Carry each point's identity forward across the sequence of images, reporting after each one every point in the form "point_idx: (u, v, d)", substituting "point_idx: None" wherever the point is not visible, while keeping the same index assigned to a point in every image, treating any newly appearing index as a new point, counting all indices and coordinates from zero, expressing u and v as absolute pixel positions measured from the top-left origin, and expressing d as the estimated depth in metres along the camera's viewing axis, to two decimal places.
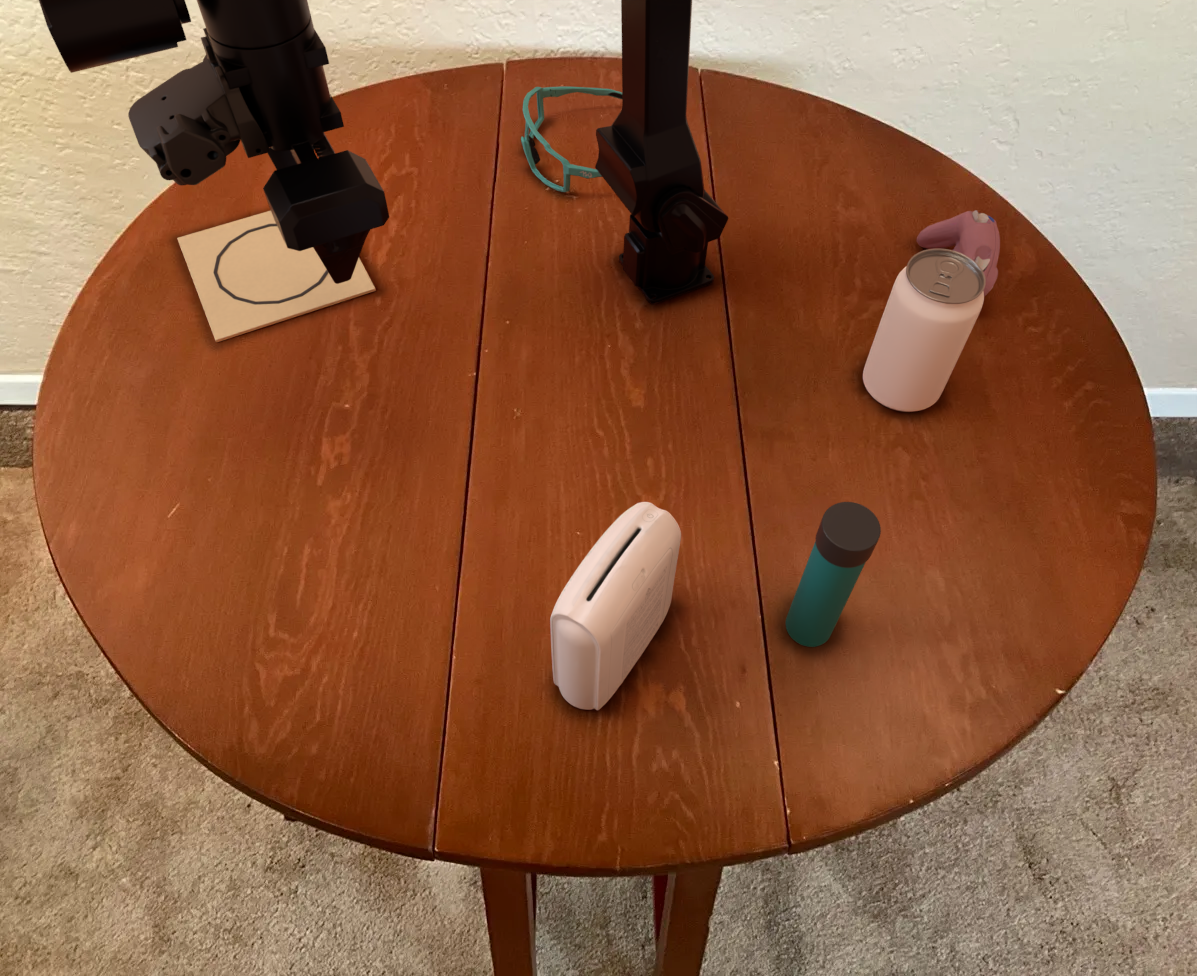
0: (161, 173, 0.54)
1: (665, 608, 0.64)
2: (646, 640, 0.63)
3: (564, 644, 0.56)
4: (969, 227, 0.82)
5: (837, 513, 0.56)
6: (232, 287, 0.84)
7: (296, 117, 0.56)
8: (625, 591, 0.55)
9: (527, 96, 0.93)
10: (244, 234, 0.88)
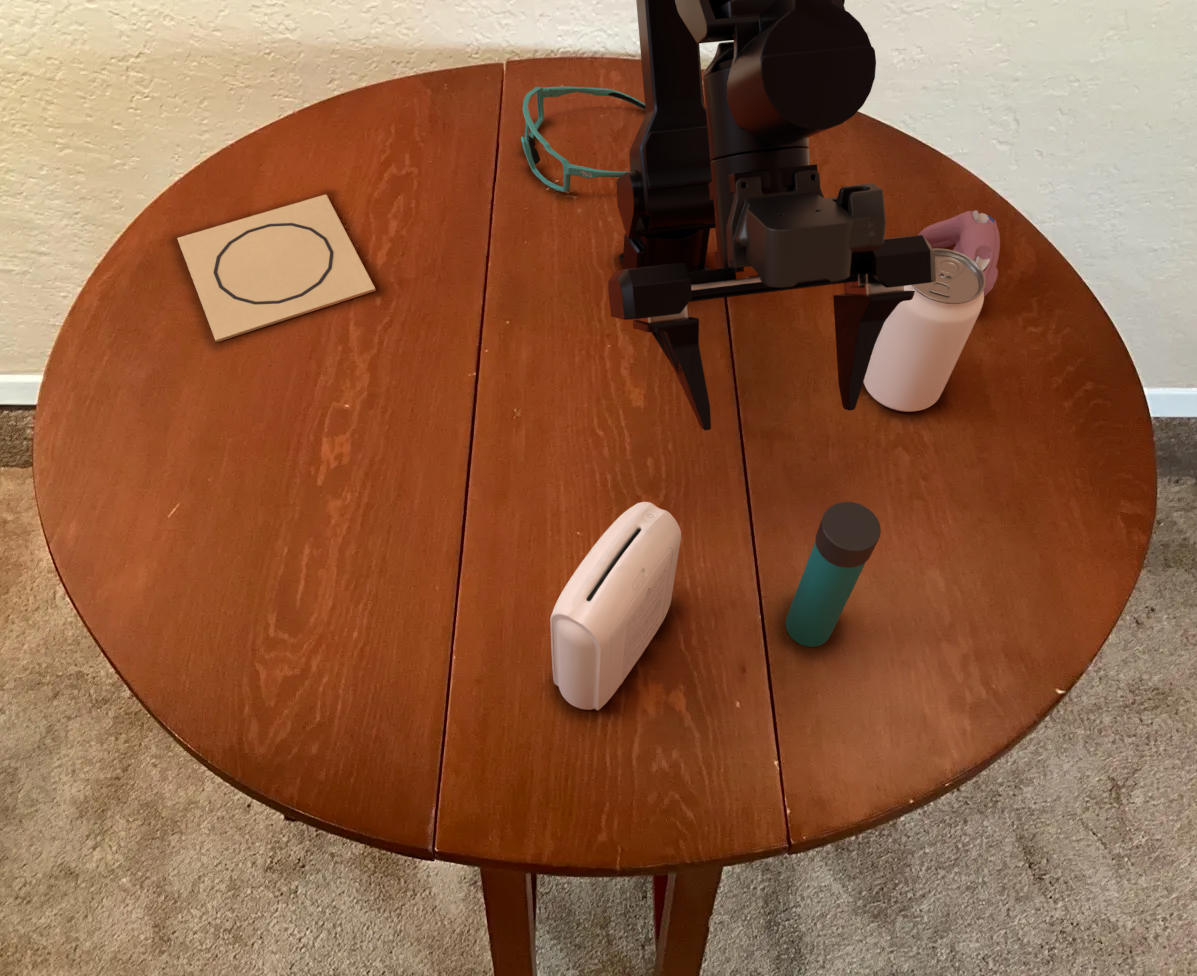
0: (875, 235, 0.50)
1: (665, 608, 0.64)
2: (646, 640, 0.63)
3: (564, 644, 0.56)
4: (969, 227, 0.82)
5: (837, 513, 0.56)
6: (232, 287, 0.84)
7: None
8: (625, 591, 0.55)
9: (527, 96, 0.93)
10: (244, 234, 0.88)
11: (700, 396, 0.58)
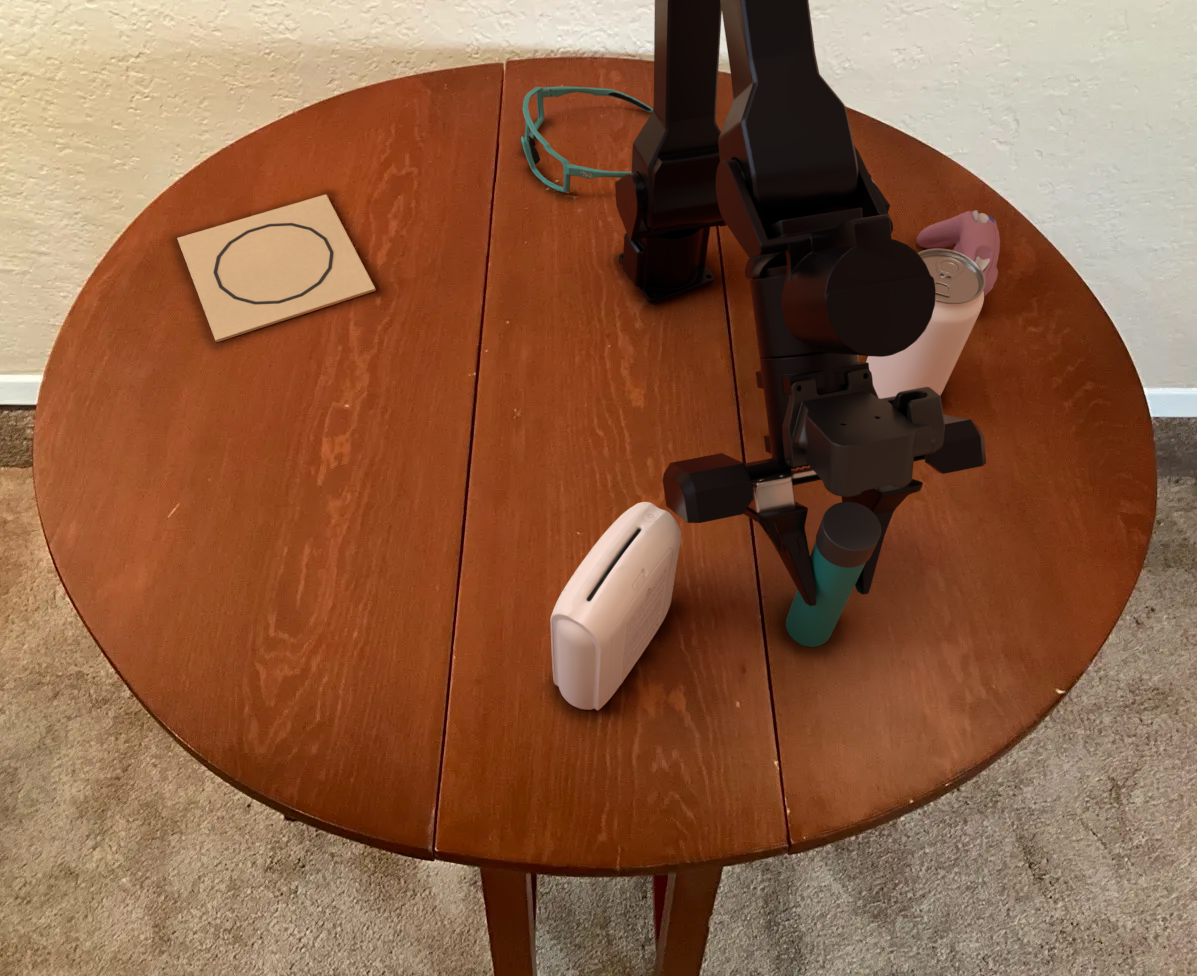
0: (936, 442, 0.51)
1: (665, 608, 0.64)
2: (646, 640, 0.63)
3: (564, 644, 0.56)
4: (969, 227, 0.82)
5: (837, 513, 0.56)
6: (232, 287, 0.84)
7: None
8: (626, 591, 0.55)
9: (527, 96, 0.93)
10: (244, 234, 0.88)
11: (806, 575, 0.59)
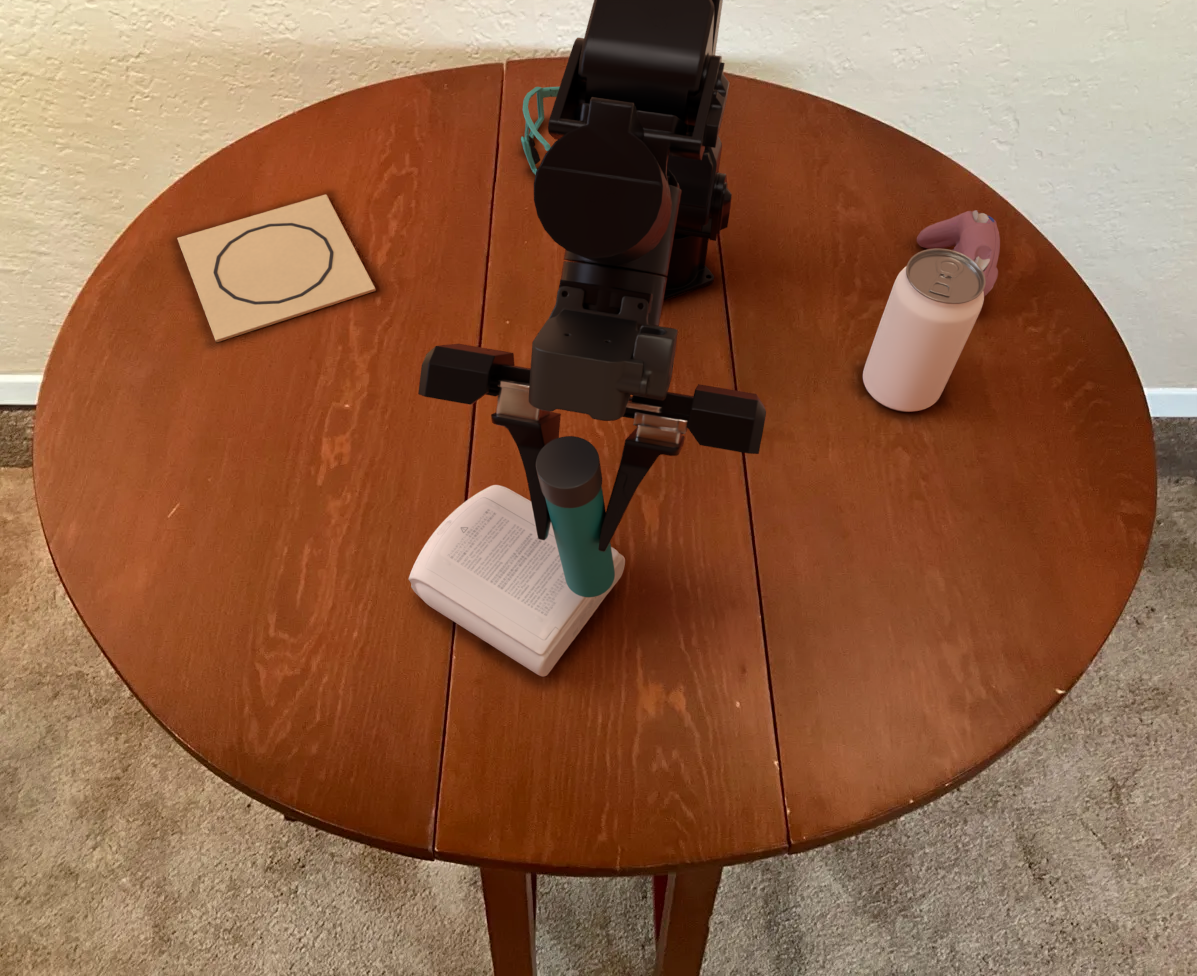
0: (646, 384, 0.45)
1: None
2: (563, 577, 0.64)
3: (438, 611, 0.65)
4: (969, 227, 0.82)
5: (564, 445, 0.52)
6: (232, 287, 0.84)
7: None
8: (432, 539, 0.66)
9: (527, 96, 0.93)
10: (244, 234, 0.88)
11: (538, 503, 0.54)
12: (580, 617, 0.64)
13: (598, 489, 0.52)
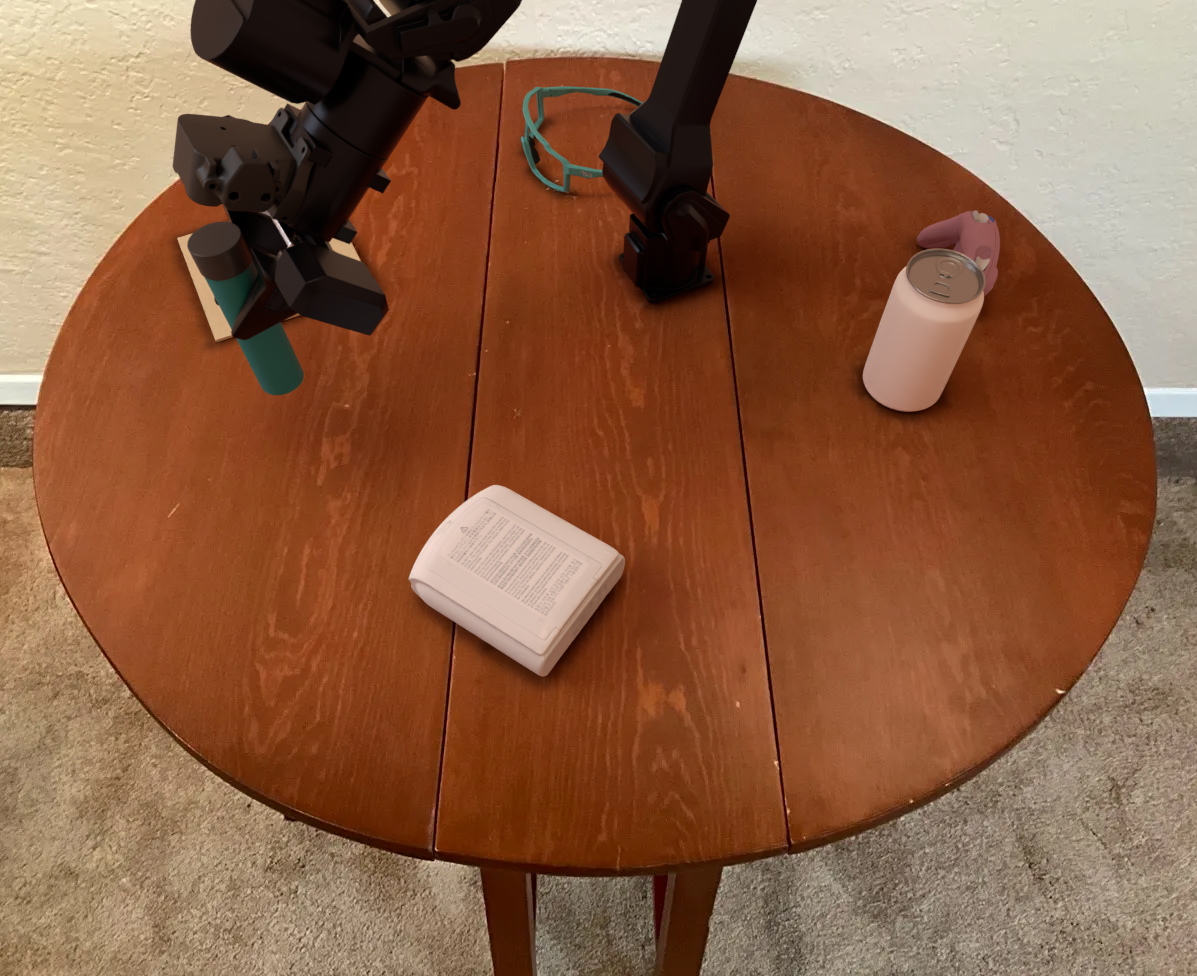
0: (207, 182, 0.54)
1: (579, 547, 0.65)
2: (563, 577, 0.64)
3: (438, 611, 0.65)
4: (969, 227, 0.82)
5: (227, 229, 0.61)
6: None
7: (331, 213, 0.60)
8: (432, 539, 0.66)
9: (527, 96, 0.93)
10: None
11: None
12: (580, 617, 0.64)
13: (224, 275, 0.61)
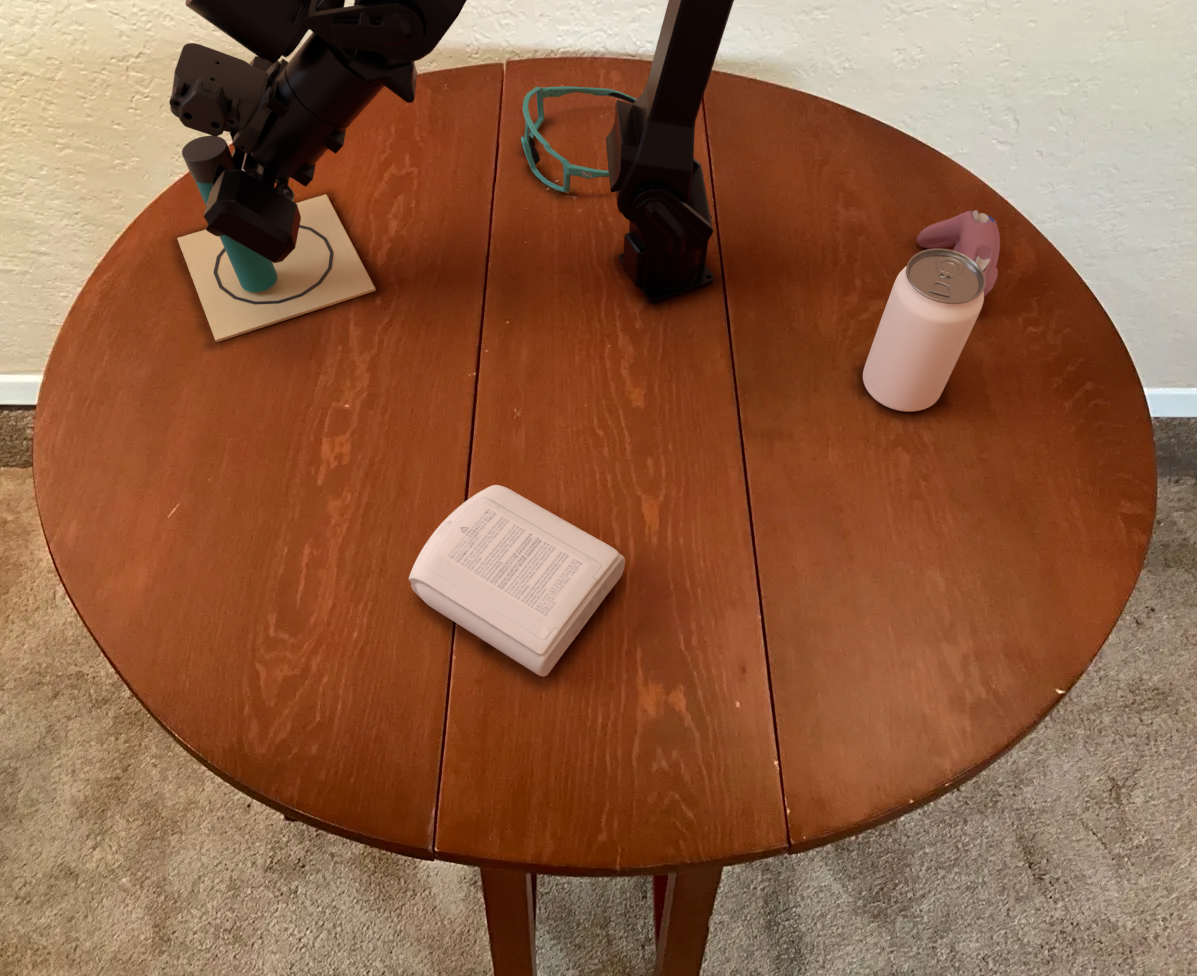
0: (171, 99, 0.66)
1: (579, 547, 0.65)
2: (563, 577, 0.64)
3: (438, 611, 0.65)
4: (969, 227, 0.82)
5: (218, 144, 0.74)
6: (232, 287, 0.84)
7: (285, 156, 0.71)
8: (432, 539, 0.66)
9: (527, 96, 0.93)
10: None
11: None
12: (580, 617, 0.64)
13: (201, 179, 0.74)
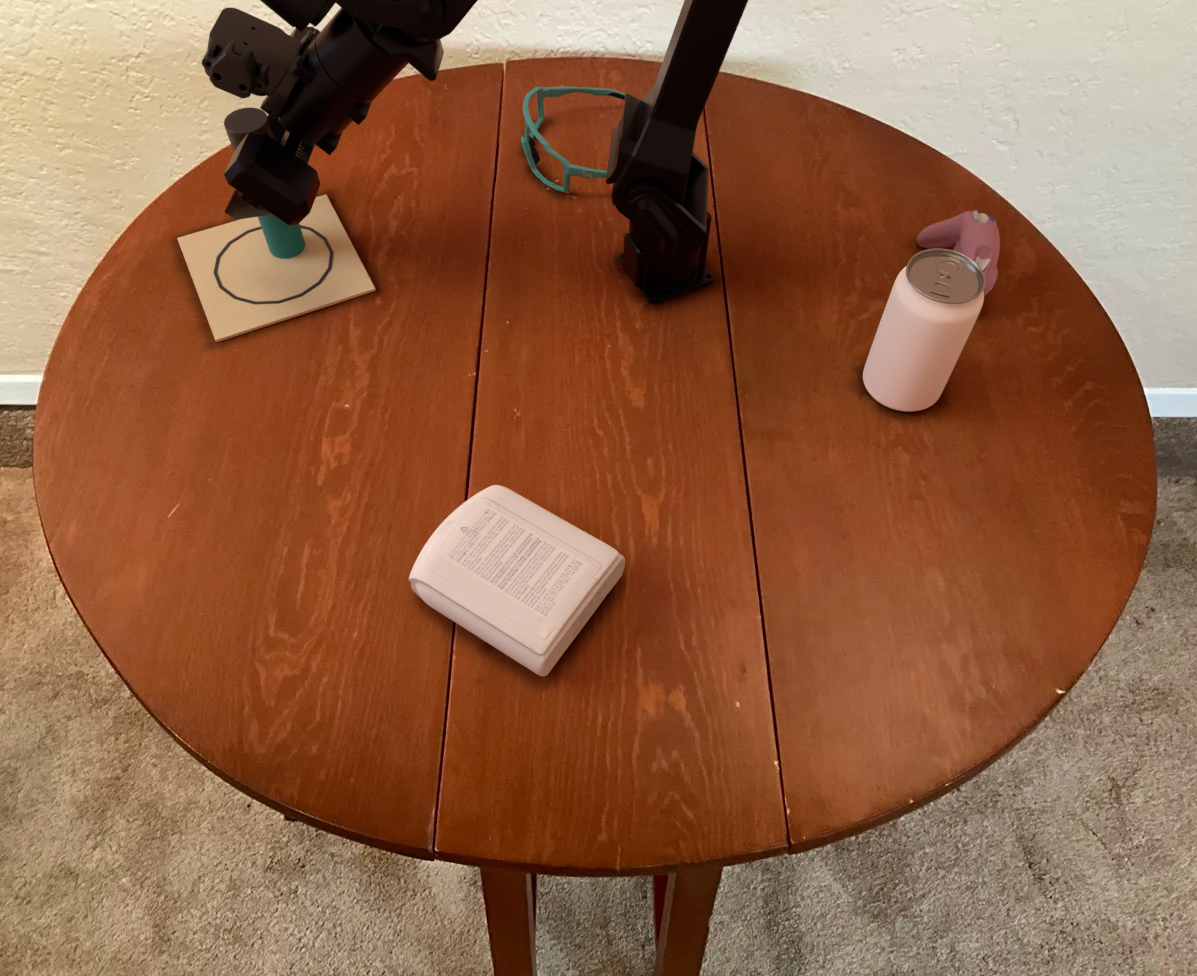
0: (203, 59, 0.69)
1: (579, 547, 0.65)
2: (563, 577, 0.64)
3: (438, 611, 0.65)
4: (969, 227, 0.82)
5: (259, 117, 0.77)
6: (232, 287, 0.84)
7: (310, 123, 0.73)
8: (432, 539, 0.66)
9: (527, 96, 0.93)
10: (244, 234, 0.88)
11: None
12: (580, 617, 0.64)
13: None
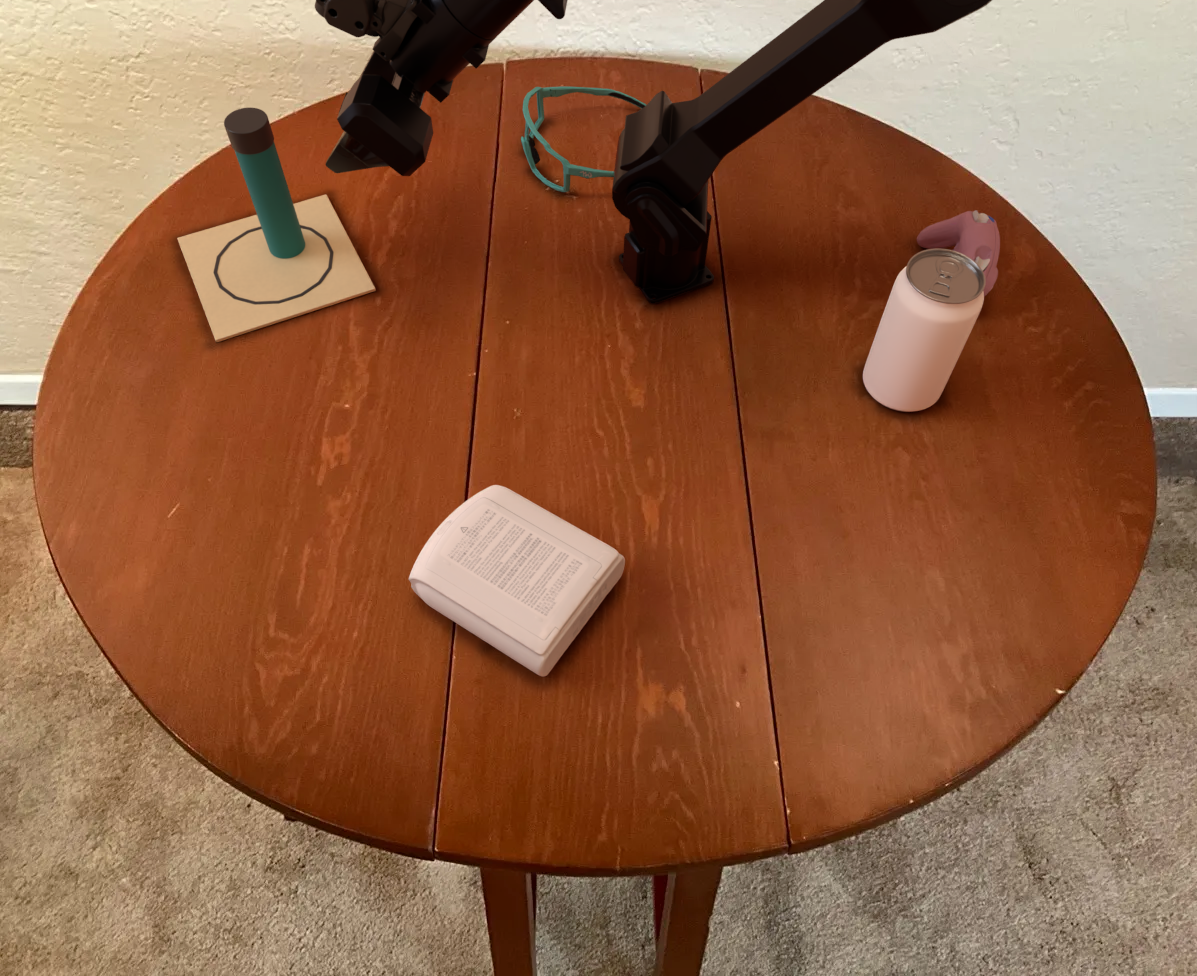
0: None
1: (579, 547, 0.65)
2: (563, 577, 0.64)
3: (438, 611, 0.65)
4: (969, 227, 0.82)
5: (259, 117, 0.77)
6: (232, 287, 0.84)
7: (425, 67, 0.69)
8: (432, 539, 0.66)
9: (527, 96, 0.93)
10: (244, 234, 0.88)
11: (363, 70, 0.78)
12: (580, 617, 0.64)
13: (240, 150, 0.77)
